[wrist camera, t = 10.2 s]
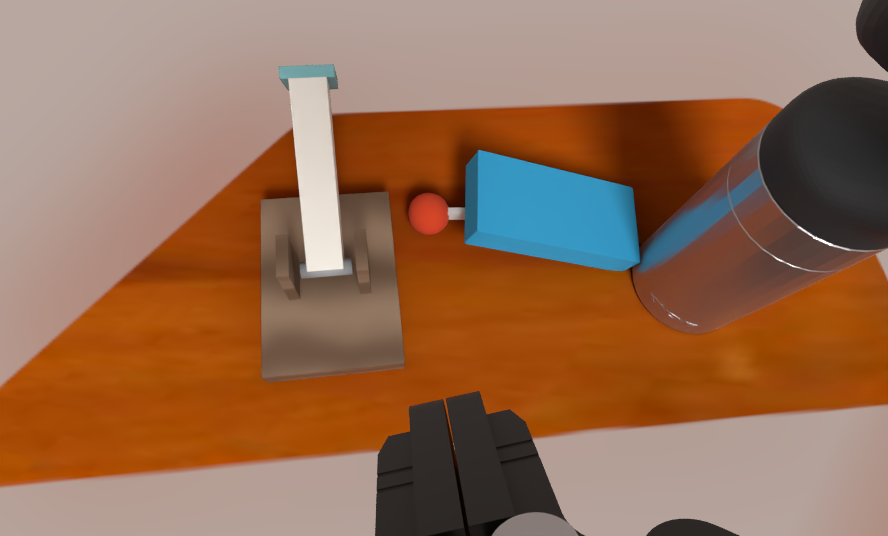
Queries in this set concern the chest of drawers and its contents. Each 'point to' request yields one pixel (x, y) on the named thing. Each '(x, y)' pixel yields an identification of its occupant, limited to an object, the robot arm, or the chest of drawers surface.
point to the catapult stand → (329, 295)
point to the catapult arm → (316, 169)
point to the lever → (538, 213)
